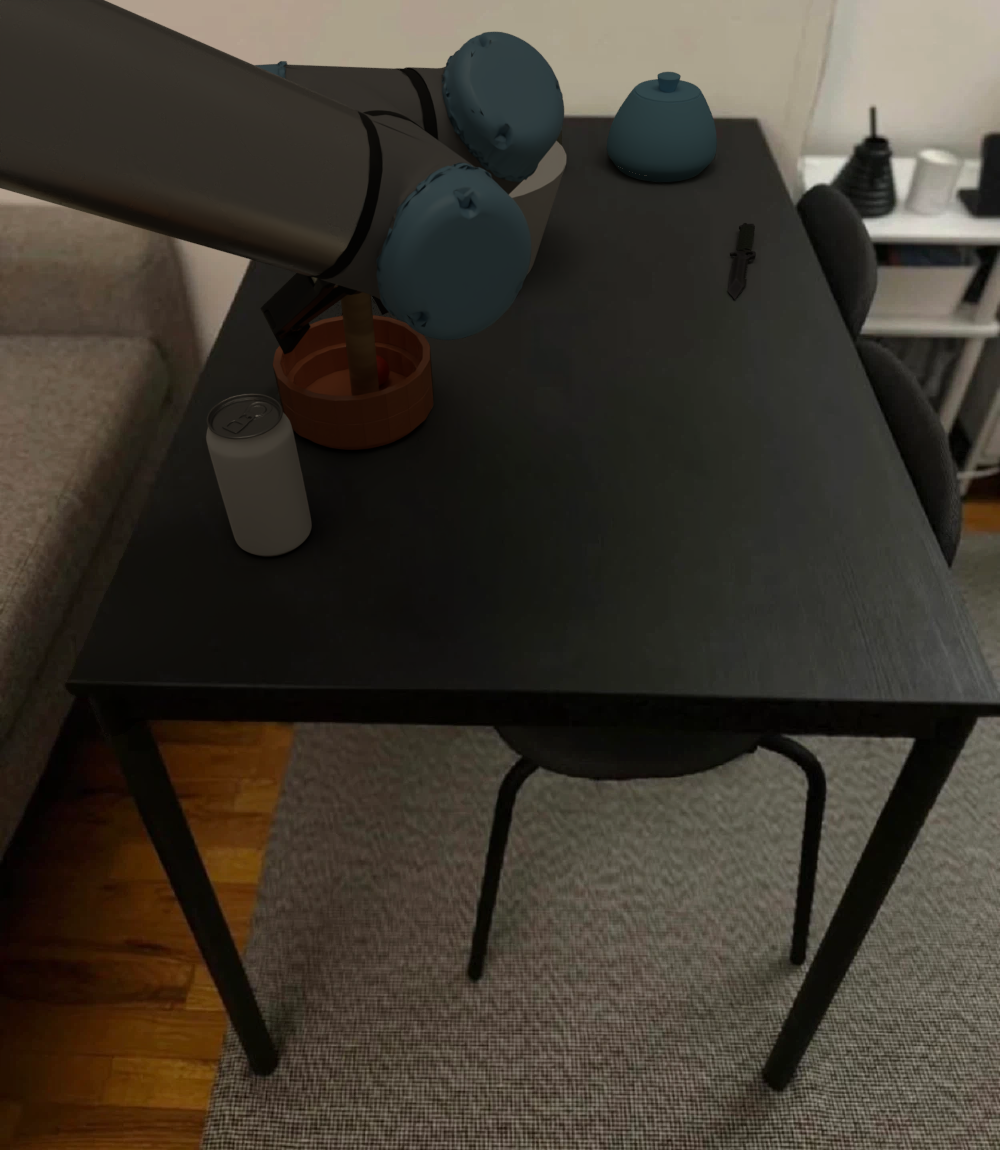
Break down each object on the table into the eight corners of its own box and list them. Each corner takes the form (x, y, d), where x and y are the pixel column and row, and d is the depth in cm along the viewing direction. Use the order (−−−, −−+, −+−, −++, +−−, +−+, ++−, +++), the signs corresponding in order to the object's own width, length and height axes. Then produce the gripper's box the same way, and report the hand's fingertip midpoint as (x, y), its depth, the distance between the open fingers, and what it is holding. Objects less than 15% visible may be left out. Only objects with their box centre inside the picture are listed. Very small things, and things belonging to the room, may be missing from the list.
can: (328, 524, 79) (306, 406, 71) (276, 570, 75) (246, 451, 67) (271, 497, 82) (242, 381, 73) (218, 541, 78) (181, 423, 69)
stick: (347, 406, 89) (326, 232, 76) (368, 394, 91) (351, 221, 77) (365, 419, 88) (347, 245, 74) (386, 406, 89) (372, 233, 76)
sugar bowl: (730, 179, 127) (745, 88, 119) (625, 191, 125) (633, 99, 116) (689, 138, 137) (701, 51, 129) (592, 148, 135) (597, 61, 127)
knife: (734, 220, 116) (759, 220, 115) (734, 227, 117) (759, 227, 116) (722, 295, 104) (750, 296, 103) (722, 302, 105) (749, 303, 104)
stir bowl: (253, 421, 89) (240, 367, 85) (350, 352, 98) (343, 300, 93) (370, 473, 84) (362, 418, 79) (463, 395, 92) (460, 342, 88)
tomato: (366, 388, 93) (347, 372, 91) (381, 362, 93) (362, 346, 91) (385, 395, 91) (365, 379, 89) (400, 368, 91) (381, 352, 89)
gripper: (308, 310, 62) (242, 402, 82) (560, 213, 72) (446, 315, 92) (253, 205, 61) (199, 323, 81) (516, 121, 71) (411, 245, 91)
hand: (331, 319), depth 86 cm, fingers open, 10 cm apart
